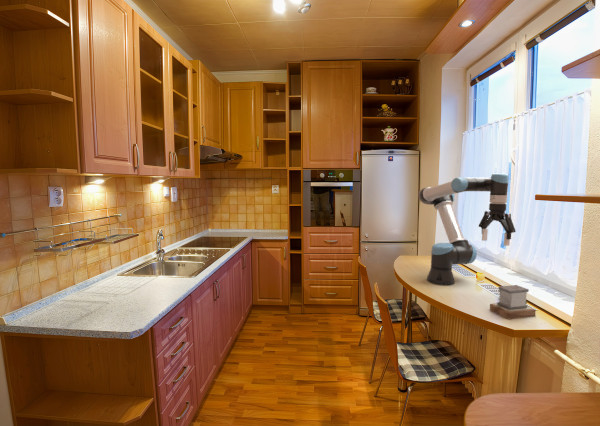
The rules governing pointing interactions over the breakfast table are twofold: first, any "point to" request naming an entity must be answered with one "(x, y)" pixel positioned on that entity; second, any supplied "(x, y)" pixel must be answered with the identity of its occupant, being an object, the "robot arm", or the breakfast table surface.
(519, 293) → the block
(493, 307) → the stand
